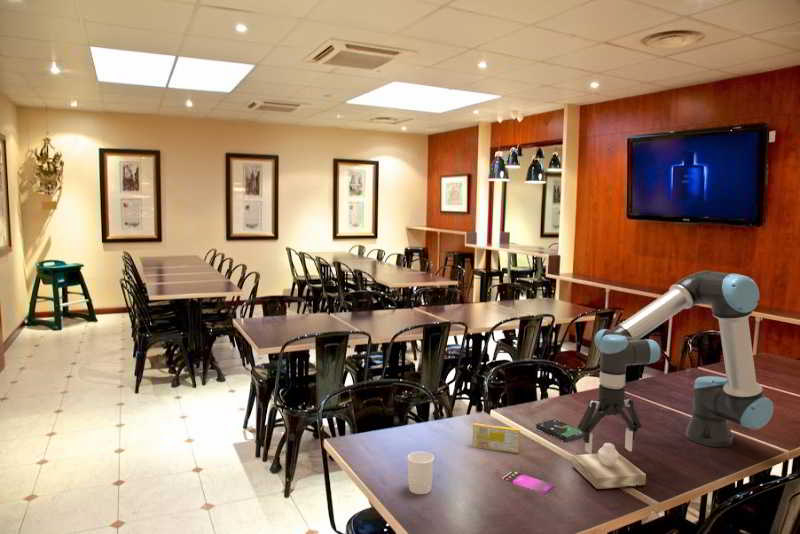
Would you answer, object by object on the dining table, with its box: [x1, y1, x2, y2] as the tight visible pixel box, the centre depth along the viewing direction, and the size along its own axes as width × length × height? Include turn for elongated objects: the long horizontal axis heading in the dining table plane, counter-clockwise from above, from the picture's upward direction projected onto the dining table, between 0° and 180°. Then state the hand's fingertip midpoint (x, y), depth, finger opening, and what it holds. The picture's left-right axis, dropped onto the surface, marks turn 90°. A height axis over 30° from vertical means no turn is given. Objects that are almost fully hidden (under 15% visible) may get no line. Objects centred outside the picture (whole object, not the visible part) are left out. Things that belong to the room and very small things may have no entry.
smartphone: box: [500, 470, 556, 495], centre depth 177 cm, size 7×15×1 cm, turn 49°
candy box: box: [471, 422, 521, 454], centre depth 200 cm, size 16×2×8 cm, turn 71°
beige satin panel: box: [571, 452, 647, 490], centre depth 181 cm, size 16×16×4 cm
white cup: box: [406, 451, 435, 495], centre depth 171 cm, size 8×8×10 cm
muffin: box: [597, 442, 620, 467], centre depth 180 cm, size 6×6×7 cm
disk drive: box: [535, 418, 584, 443], centre depth 215 cm, size 10×3×15 cm
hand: (608, 451), depth 180 cm, fingers open, 13 cm apart
